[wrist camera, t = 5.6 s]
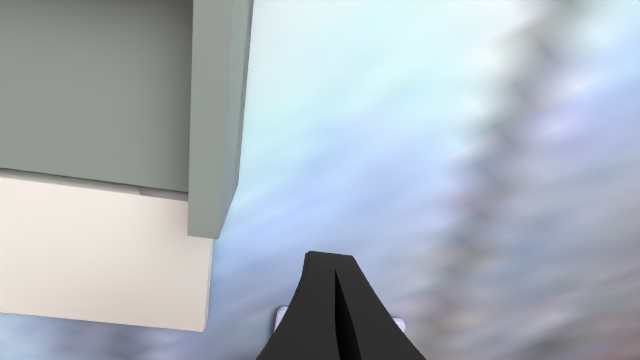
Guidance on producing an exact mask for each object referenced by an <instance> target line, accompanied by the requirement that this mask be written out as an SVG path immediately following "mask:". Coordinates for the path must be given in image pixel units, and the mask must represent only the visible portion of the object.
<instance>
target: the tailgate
mask: <svg viewBox="0 0 640 360" xmlns="http://www.w3.org/2000/svg"><path fill="white" fill-rule="evenodd" d="M188 194H189V192H184V191H176V190H169V189H161V188H154V187H146V186H142V187H139V186H132V185H124V184H116V183H109V182H101V181H93V180H86V179H78V178H70V177H63V176H55V175H48V174H40V173H32V172H25V171H17V170H9V169H2V168H1V167H0V312H5V313H15V314H26V315H36V316H46V317H56V318H66V319H76V320H86V321H96V322H107V323H117V324H127V325H137V326H147V327H157V328H167V329H177V330H188V331H198V332H204V329H205V326H206V323H207V320H208V308H209V295H210V281H211V268H212V255H213V242H214V239H211V238H202V237H194V236H187V233H188Z"/></svg>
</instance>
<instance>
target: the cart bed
mask: <svg viewBox="0 0 640 360" xmlns="http://www.w3.org/2000/svg"><path fill="white" fill-rule="evenodd" d="M253 1H254V0H0V167H1V168H8V169H16V170H24V171H31V172H39V173H47V174H54V175H62V176H69V177H77V178H85V179H92V180H100V181H108V182H115V183H123V184H131V185H138V186H146V187H154V188H161V189H169V190H176V191H184V192H189V194H188V233H187V236H194V237H202V238H211V239H218V238H219V235H220V232H221V229H222V227H223V224H224V221H225V218H226V216H227V213H228V210H229V207H230V205H231V202H232V199H233V196H234V193H235V191H236V188H237V185H238V177H239V165H240V154H241V142H242V130H243V118H244V107H245V95H246V83H247V71H248V60H249V48H250V36H251V24H252V13H253Z"/></svg>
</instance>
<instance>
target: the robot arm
mask: <svg viewBox="0 0 640 360" xmlns="http://www.w3.org/2000/svg"><path fill="white" fill-rule="evenodd" d="M404 331H405V324H404V321H403V320H401V319H398V318H392V317H391V315H390V314H389V313H388V311H387V310H386V308H385V307H384V305H383V304H382V302H381V301H380V300H379V298H378V297H377V295H376V293H375V292H374V290H373V289H372V287H371V286H370V284H369V282H368V281H367V279H366V277H365V276H364V274H363V272H362V271H361V269H360V267H359V265H358V264H357V262H356V260H355V259H354V257H353V256H351V255H342V254H333V253H324V252H316V251H309V252H307V253H306V254H305V259H304V265H303V271H302V276H301V279H300V282H299V284H298V287H297V289H296V291H295V294H294V296H293V298H292V301H291V303H290V304H289V306H288V307H281V308H279V309H278V311H277V316H276V322H275V328H274V333H273V335H272V337H271V338H270V340H269V341H268V343H267V344H266V346H265V347H264V349H263V350H262V352H261V353H260V354H259V356H258V357H257V359H256V360H426V359H425V358H424V356H423V355H422V354H421V353H420V352H419V351H418V350H417V349H416V348H415V346H414V345H413V344H412V343H411V342H410V340H409V339H408V338H407V337H406V335H405V334H404Z"/></svg>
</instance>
